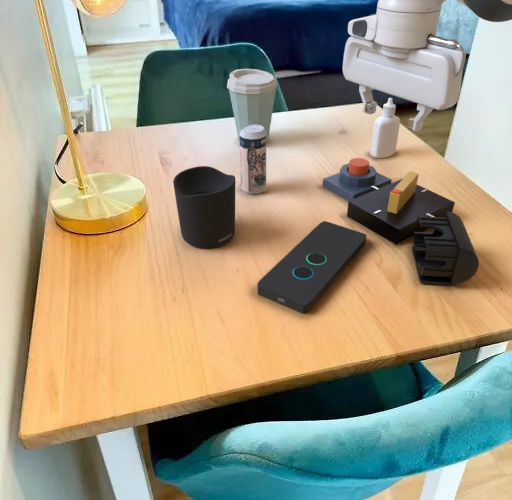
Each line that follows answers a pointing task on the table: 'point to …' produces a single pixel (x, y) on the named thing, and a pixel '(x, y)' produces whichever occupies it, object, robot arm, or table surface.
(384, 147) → the eye dropper bottle
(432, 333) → the table surface
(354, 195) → the button box
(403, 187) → the rotary switch knob
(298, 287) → the smart home device
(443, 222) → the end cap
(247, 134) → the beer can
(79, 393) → the table surface
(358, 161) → the button
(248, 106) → the disposable coffee cup
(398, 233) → the rotary switch
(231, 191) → the pen holder
